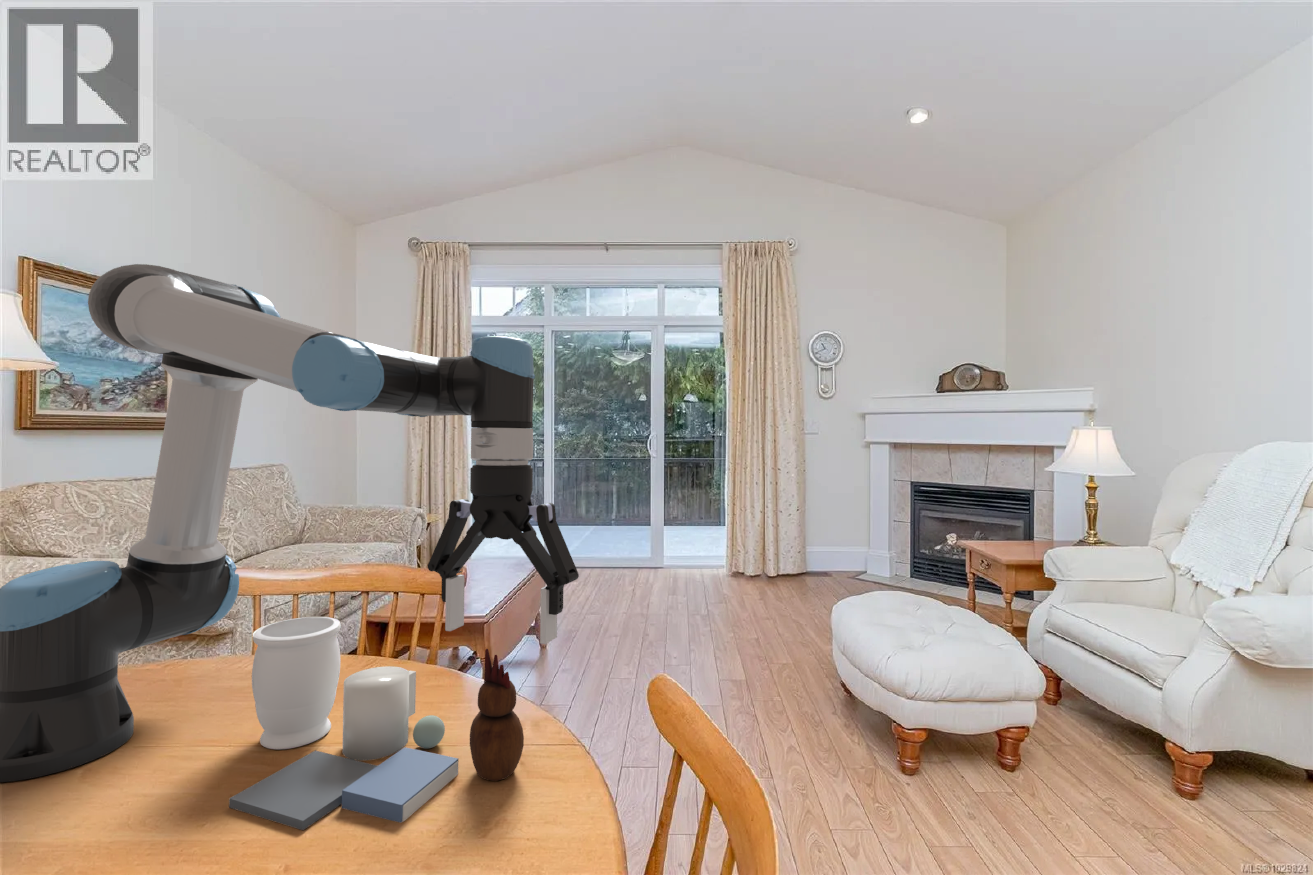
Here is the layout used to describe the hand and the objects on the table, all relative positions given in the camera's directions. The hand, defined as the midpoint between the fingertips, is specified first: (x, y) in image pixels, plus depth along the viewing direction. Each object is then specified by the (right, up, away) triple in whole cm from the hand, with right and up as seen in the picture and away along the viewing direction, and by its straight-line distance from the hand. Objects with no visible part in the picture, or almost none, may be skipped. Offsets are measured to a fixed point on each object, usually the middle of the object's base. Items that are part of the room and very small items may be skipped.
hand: (500, 634), depth 74 cm
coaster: (-21, -17, -4) cm, 27 cm away
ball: (-11, -17, +6) cm, 21 cm away
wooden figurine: (-1, -17, 0) cm, 17 cm away
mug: (-18, -17, +8) cm, 26 cm away
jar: (-30, -17, +8) cm, 36 cm away
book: (-10, -18, -4) cm, 21 cm away
